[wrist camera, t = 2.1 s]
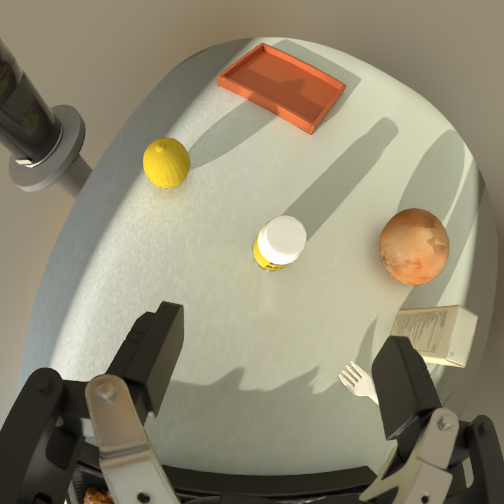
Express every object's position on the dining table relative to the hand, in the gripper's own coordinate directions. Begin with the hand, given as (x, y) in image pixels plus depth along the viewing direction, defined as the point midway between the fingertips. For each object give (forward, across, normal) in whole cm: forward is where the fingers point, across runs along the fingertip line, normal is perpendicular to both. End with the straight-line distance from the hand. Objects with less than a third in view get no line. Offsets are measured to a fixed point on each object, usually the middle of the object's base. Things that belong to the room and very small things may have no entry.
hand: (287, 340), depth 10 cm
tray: (+40, +2, -14) cm, 43 cm away
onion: (+26, -18, +7) cm, 32 cm away
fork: (+12, -19, +23) cm, 33 cm away
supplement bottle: (+23, 0, +8) cm, 24 cm away
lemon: (+26, +14, +2) cm, 30 cm away
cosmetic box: (+19, -21, +15) cm, 32 cm away
